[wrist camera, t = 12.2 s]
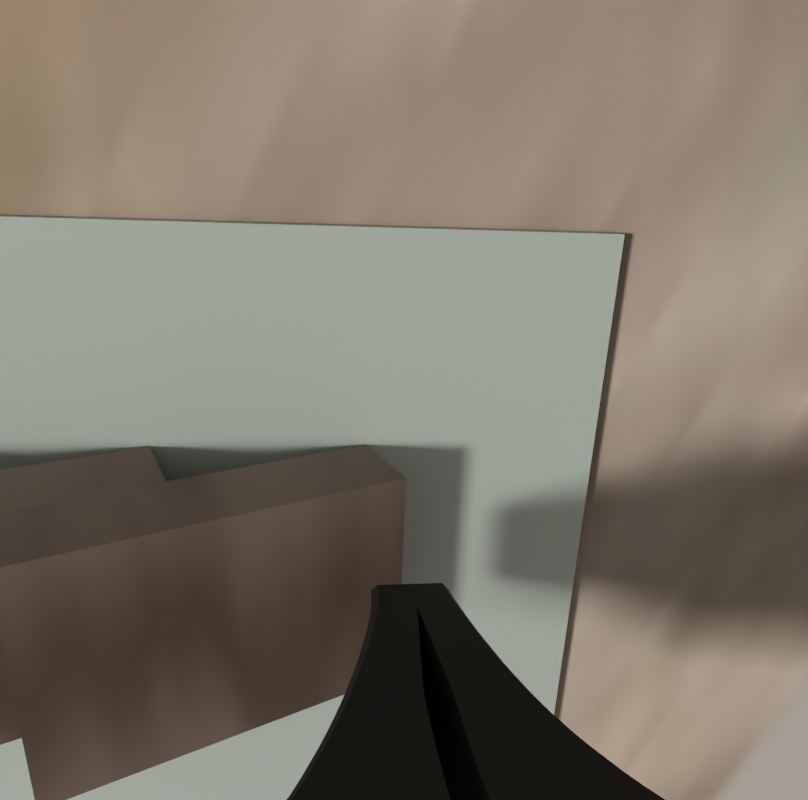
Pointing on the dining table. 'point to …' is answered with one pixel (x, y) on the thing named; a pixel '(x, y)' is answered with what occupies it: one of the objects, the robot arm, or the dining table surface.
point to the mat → (326, 406)
